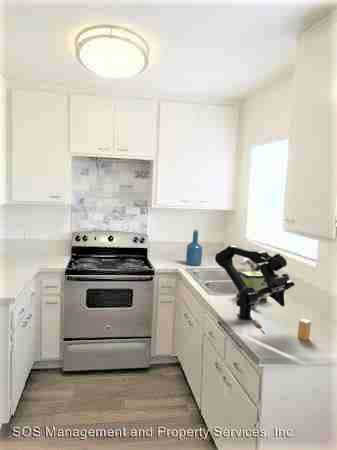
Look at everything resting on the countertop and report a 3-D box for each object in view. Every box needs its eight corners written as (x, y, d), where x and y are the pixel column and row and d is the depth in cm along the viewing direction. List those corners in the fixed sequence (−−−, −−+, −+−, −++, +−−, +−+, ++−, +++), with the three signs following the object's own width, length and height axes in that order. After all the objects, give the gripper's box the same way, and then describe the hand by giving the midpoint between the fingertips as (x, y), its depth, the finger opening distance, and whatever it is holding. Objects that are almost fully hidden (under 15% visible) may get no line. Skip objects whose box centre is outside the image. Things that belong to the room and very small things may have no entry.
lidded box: (297, 337, 161) (298, 319, 160) (301, 335, 163) (303, 318, 162) (304, 340, 158) (306, 322, 157) (309, 338, 160) (311, 321, 159)
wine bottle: (204, 265, 310) (206, 230, 307) (195, 267, 300) (198, 231, 297) (191, 262, 318) (193, 228, 315) (182, 264, 308) (184, 229, 305)
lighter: (247, 307, 203) (248, 293, 202) (248, 306, 204) (249, 292, 204) (259, 310, 199) (260, 296, 198) (260, 309, 200) (262, 295, 200)
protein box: (236, 296, 224) (238, 271, 222) (258, 295, 228) (260, 271, 226) (244, 301, 214) (246, 275, 212) (267, 300, 218) (269, 275, 216)
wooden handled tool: (251, 324, 177) (252, 319, 176) (256, 324, 177) (257, 319, 177) (261, 336, 163) (262, 331, 162) (266, 336, 163) (267, 331, 163)
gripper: (261, 273, 163) (276, 306, 157) (293, 264, 171) (309, 296, 165) (250, 281, 173) (264, 313, 167) (280, 273, 180) (295, 303, 174)
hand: (283, 306), depth 168 cm, fingers closed
